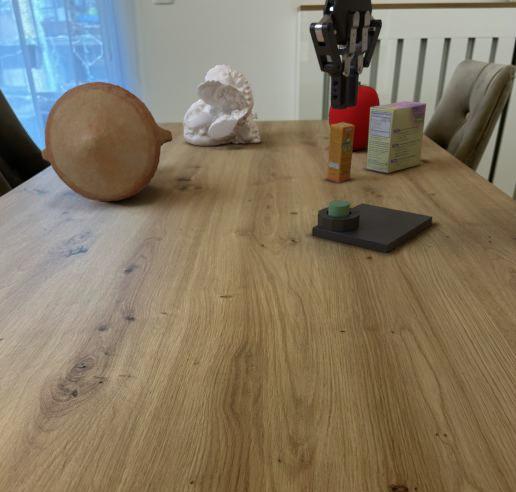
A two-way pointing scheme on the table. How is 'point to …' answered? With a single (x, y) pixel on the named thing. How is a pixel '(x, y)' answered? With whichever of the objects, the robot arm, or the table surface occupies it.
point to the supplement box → (340, 151)
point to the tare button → (339, 208)
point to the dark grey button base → (371, 226)
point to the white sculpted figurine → (222, 110)
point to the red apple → (357, 115)
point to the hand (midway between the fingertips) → (343, 107)
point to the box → (395, 136)
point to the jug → (103, 141)
